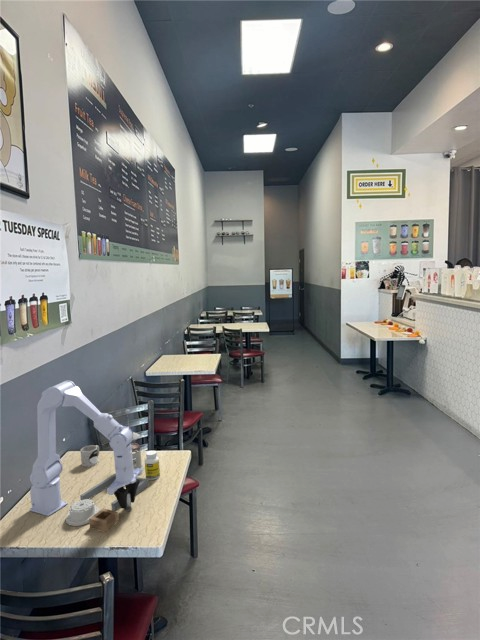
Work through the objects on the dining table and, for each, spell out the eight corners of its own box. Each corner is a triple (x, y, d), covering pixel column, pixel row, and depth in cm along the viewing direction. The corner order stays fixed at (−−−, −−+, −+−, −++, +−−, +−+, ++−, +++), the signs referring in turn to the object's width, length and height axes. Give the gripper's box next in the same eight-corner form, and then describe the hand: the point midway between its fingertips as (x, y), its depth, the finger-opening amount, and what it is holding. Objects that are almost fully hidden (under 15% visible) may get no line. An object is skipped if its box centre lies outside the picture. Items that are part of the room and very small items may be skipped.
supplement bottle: (146, 481, 150) (144, 456, 149) (145, 475, 155) (143, 451, 154) (160, 478, 151) (158, 454, 151) (159, 472, 157) (157, 448, 156)
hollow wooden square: (89, 527, 122) (89, 518, 122) (104, 517, 128) (103, 508, 128) (104, 532, 120) (103, 522, 120) (118, 521, 125) (117, 512, 125)
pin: (122, 510, 131) (121, 494, 131) (127, 506, 133) (126, 490, 133) (128, 511, 130) (126, 495, 130) (133, 507, 132) (131, 491, 132)
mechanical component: (59, 525, 125) (88, 528, 123) (58, 512, 124) (86, 514, 122) (78, 508, 135) (105, 509, 133) (77, 495, 134) (104, 497, 132)
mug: (92, 467, 165) (91, 452, 164) (78, 466, 166) (76, 451, 166) (105, 457, 174) (104, 442, 174) (92, 456, 176) (91, 441, 175)
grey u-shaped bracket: (80, 502, 138) (80, 495, 137) (116, 479, 153) (115, 472, 153) (114, 511, 131) (113, 503, 131) (148, 485, 147) (147, 479, 146)
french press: (136, 476, 154) (130, 414, 152) (110, 473, 158) (105, 412, 156) (149, 465, 164) (144, 406, 161) (125, 463, 167) (120, 405, 165)
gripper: (117, 477, 122) (121, 519, 123) (147, 457, 135) (150, 496, 136) (100, 473, 125) (104, 514, 127) (131, 455, 138) (134, 492, 140)
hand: (127, 504), depth 132 cm, fingers open, 3 cm apart
